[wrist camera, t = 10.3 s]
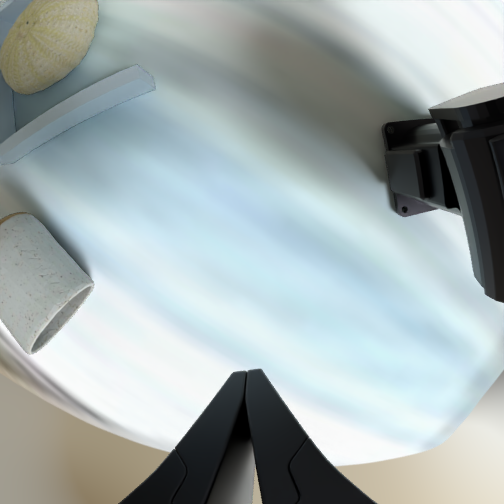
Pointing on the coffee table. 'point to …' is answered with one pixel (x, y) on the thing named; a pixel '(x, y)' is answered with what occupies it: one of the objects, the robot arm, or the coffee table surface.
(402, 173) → the robot arm
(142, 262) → the coffee table surface
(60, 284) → the ceramic mug
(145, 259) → the coffee table surface
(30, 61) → the sea urchin shell
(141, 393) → the coffee table surface
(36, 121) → the corral
